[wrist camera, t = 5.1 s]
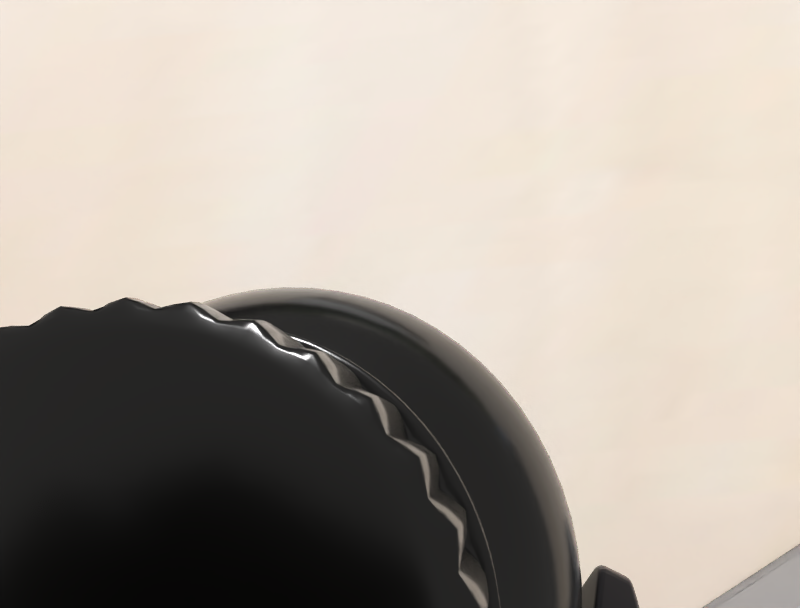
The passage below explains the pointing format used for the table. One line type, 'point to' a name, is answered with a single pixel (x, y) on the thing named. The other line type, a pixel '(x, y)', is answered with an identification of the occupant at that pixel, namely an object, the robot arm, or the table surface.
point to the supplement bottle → (269, 462)
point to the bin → (767, 586)
